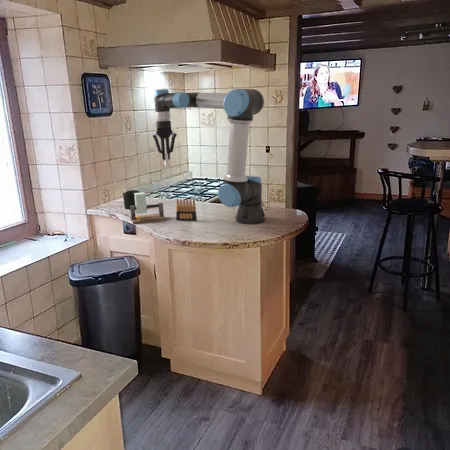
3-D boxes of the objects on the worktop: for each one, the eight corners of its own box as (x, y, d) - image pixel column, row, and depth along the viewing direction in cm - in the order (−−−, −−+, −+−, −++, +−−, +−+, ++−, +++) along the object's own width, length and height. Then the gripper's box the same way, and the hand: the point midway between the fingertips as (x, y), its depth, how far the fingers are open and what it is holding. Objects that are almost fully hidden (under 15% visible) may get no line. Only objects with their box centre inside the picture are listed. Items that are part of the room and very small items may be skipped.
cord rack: (165, 220, 228) (164, 205, 225) (133, 224, 222) (132, 208, 220) (161, 215, 239) (159, 200, 236) (130, 218, 233) (128, 204, 231)
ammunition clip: (176, 220, 227) (175, 198, 224) (177, 219, 228) (176, 197, 225) (195, 221, 224) (194, 198, 221) (196, 220, 226) (195, 197, 223)
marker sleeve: (146, 212, 227) (145, 193, 224) (137, 213, 225) (135, 194, 222) (145, 210, 231) (143, 192, 228) (135, 211, 230) (134, 193, 227)
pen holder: (142, 208, 255) (140, 192, 253) (126, 210, 251) (124, 194, 248) (137, 205, 263) (136, 189, 261) (122, 207, 259) (120, 191, 257)
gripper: (173, 119, 229) (176, 164, 236) (149, 121, 225) (153, 166, 231) (177, 120, 223) (180, 165, 229) (152, 121, 218) (156, 167, 224)
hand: (166, 165), depth 230 cm, fingers closed
